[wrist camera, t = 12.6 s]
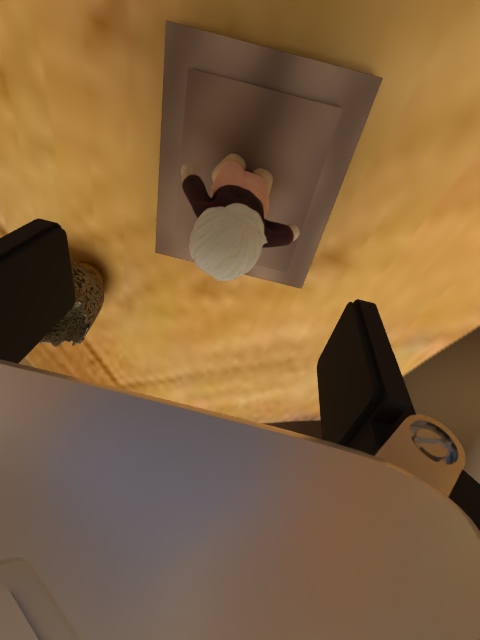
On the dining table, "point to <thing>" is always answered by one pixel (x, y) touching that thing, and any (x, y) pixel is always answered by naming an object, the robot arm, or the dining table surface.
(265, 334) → the dining table surface
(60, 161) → the dining table surface
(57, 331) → the cup
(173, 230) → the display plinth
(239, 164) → the grandmother figurine
